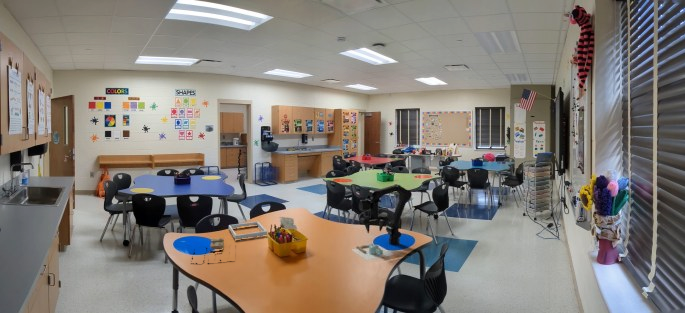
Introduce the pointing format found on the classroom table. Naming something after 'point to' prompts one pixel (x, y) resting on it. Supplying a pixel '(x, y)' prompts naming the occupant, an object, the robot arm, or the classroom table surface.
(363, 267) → the classroom table surface
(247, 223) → the train corral
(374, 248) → the teal dome with tabs
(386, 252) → the board
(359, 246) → the cradle
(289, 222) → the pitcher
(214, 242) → the pile of dominoes
